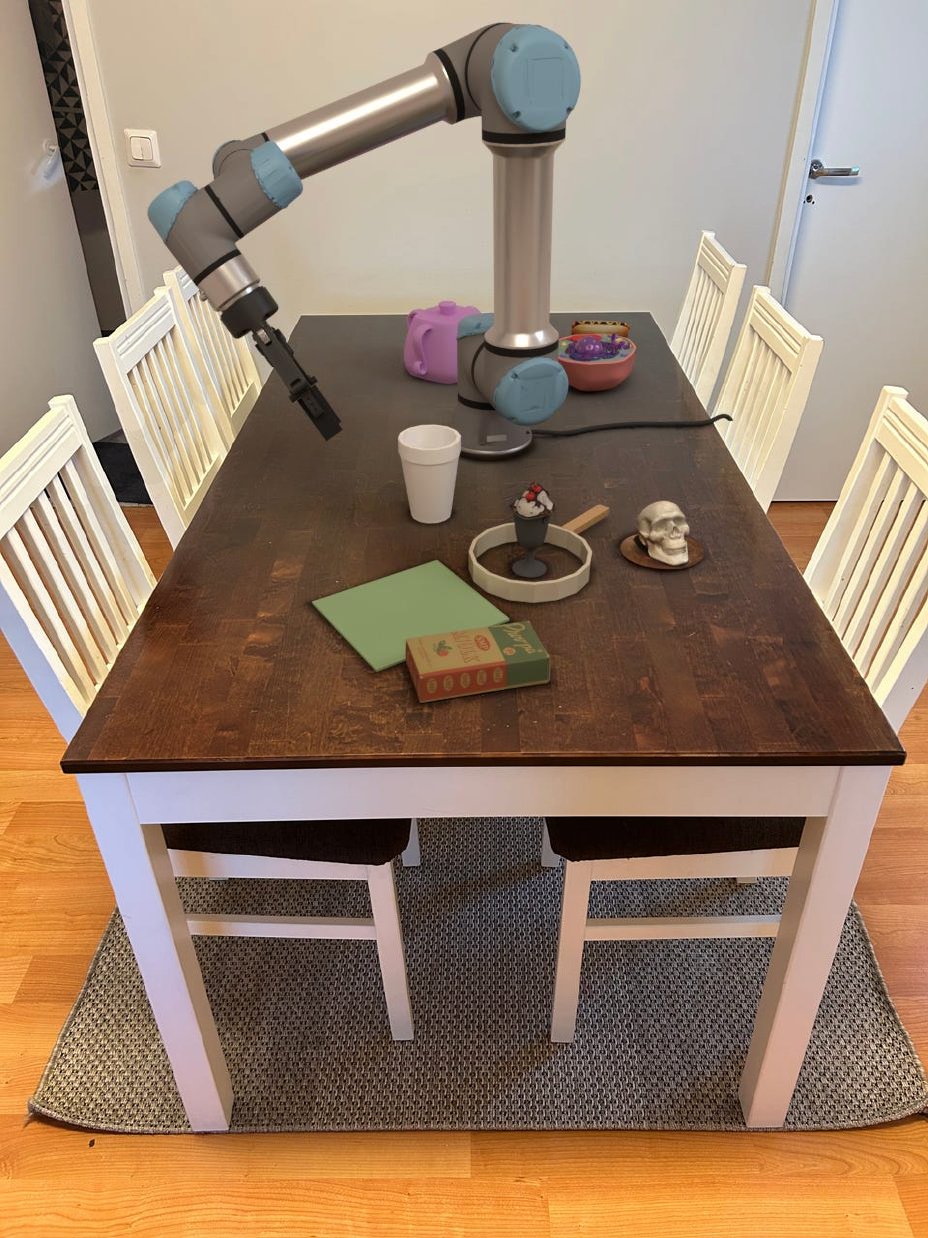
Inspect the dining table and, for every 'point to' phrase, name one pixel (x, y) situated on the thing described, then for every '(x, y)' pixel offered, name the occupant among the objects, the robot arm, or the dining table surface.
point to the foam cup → (430, 470)
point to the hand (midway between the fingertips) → (334, 431)
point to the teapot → (434, 341)
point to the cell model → (596, 360)
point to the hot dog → (600, 327)
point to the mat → (405, 611)
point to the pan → (555, 536)
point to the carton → (476, 661)
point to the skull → (662, 539)
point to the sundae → (531, 527)
